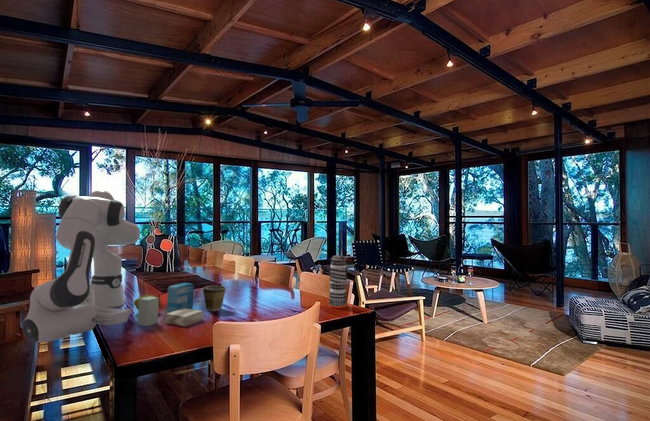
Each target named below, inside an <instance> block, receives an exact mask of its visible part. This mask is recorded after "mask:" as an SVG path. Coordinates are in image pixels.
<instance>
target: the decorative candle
mask: <svg viewBox="0 0 650 421" xmlns="http://www.w3.org/2000/svg"><path fill="white" fill-rule="evenodd" d="M330 260H331V261H330V266H329V267H328V268H329V271H328V273H329V278H328V280H329V284H330V288H329V292H328V293H329V295H328V297H329V299H328V301H329V302H328V305H331V306H344V305H346V306H347V299H346V298H347V291H346V290H347V289H346V284H347V283H348V282H347V280H348V274H347V273H348V271H347V270H348V267H347V258H346V257H345V255H338V254H337V255H336V254H335V255H333V256H332V257H331V258H330Z"/></svg>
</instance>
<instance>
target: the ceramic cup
mask: <svg viewBox="0 0 650 421" xmlns="http://www.w3.org/2000/svg"><path fill="white" fill-rule="evenodd" d="M202 291H203V292H202V293H203V297H204V306H205V310H206V309H207V310H206V311H209V312H218V311H220V310H222V308H223V304H224V303H223V302H224V297H225V293H226V286H224V285H207V286H204V287H203V288H202Z"/></svg>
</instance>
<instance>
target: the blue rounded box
mask: <svg viewBox="0 0 650 421" xmlns="http://www.w3.org/2000/svg"><path fill="white" fill-rule="evenodd" d="M194 289H195V288H194V284H193V283H191V282H182V283H177V284H173V285H169V286H168V288H167V294H166V295H167V297H166V300H167V301H166V312H167V313H170V312H173V311H177V310H180V309H183V308H185V309H192V310H193V307H194V293H195V292H194ZM167 313H166V314H167Z"/></svg>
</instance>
